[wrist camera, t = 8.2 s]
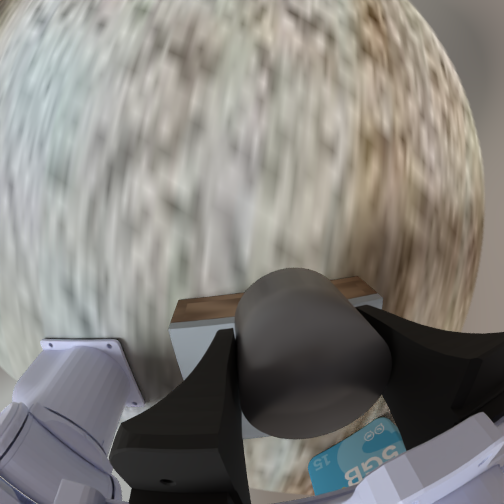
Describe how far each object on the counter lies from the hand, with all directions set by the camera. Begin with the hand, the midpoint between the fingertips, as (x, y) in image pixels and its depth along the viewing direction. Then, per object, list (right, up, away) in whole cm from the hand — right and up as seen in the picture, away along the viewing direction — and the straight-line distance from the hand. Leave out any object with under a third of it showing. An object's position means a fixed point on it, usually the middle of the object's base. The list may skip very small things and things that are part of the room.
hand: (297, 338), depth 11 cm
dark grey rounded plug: (0, 0, +1) cm, 1 cm away
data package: (+11, -21, +17) cm, 29 cm away
